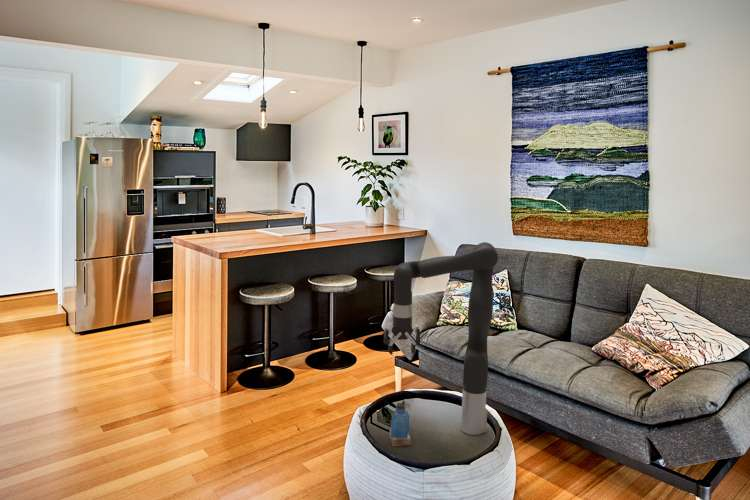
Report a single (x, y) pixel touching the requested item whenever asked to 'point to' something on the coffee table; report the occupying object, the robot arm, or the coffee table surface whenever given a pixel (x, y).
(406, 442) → the pedestal
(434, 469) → the coffee table surface
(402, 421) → the perfume bottle
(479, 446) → the coffee table surface
